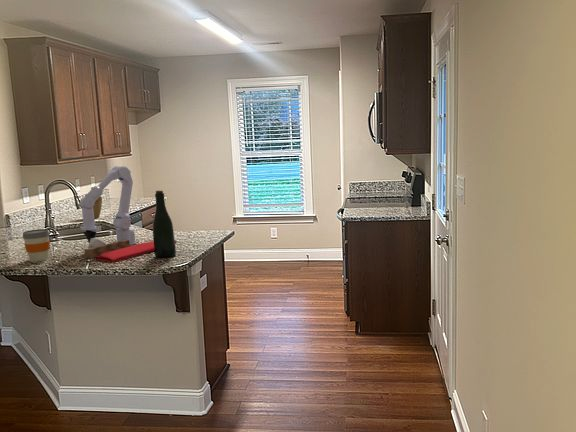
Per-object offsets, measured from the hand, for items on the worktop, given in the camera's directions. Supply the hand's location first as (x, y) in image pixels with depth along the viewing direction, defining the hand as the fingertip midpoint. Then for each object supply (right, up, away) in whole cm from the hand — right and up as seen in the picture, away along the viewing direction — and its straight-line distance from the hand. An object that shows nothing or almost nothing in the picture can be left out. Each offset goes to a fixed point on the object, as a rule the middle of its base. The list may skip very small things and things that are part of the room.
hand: (91, 244), depth 300 cm
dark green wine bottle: (+45, -5, -21) cm, 50 cm away
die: (+4, -4, -2) cm, 6 cm away
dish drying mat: (+27, -4, -8) cm, 29 cm away
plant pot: (-42, +13, +125) cm, 132 cm away
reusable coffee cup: (-23, -8, -12) cm, 27 cm away
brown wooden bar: (+11, -4, -6) cm, 13 cm away
